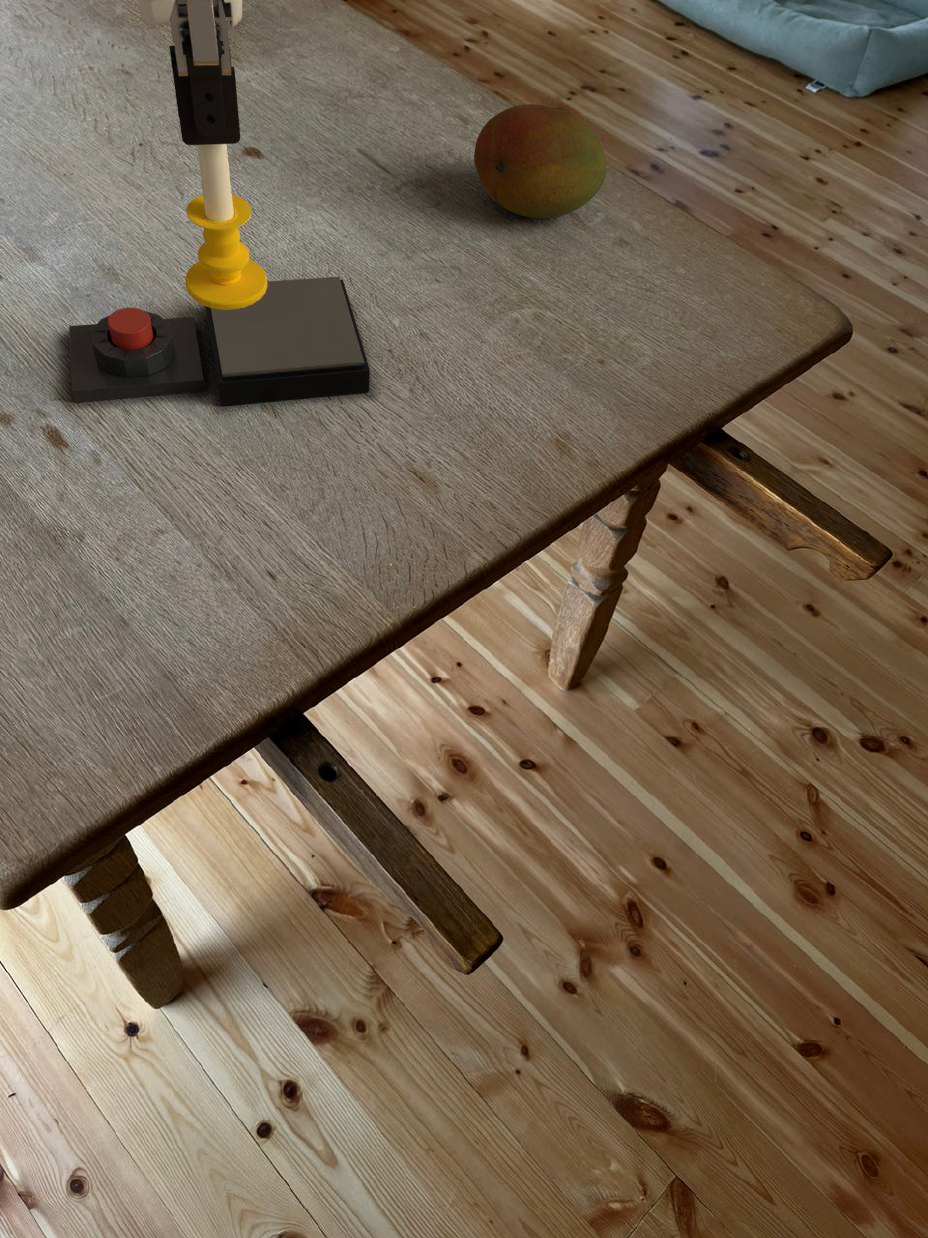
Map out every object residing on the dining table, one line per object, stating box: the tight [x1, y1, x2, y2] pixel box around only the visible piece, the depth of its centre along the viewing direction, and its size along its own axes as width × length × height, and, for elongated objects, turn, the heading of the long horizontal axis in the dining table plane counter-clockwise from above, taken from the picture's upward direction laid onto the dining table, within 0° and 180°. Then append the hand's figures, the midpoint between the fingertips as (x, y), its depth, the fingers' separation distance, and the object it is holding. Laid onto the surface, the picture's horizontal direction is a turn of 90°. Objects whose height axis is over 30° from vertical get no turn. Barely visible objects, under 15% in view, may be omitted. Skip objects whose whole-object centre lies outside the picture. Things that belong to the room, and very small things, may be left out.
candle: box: [184, 144, 268, 310], centre depth 59 cm, size 5×5×16 cm
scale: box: [204, 276, 371, 407], centre depth 84 cm, size 12×12×3 cm
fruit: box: [473, 103, 607, 219], centre depth 98 cm, size 12×13×10 cm
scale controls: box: [68, 310, 206, 404], centre depth 81 cm, size 10×8×3 cm
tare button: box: [108, 307, 153, 350], centre depth 79 cm, size 3×3×2 cm
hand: (209, 128), depth 57 cm, fingers closed on candle
